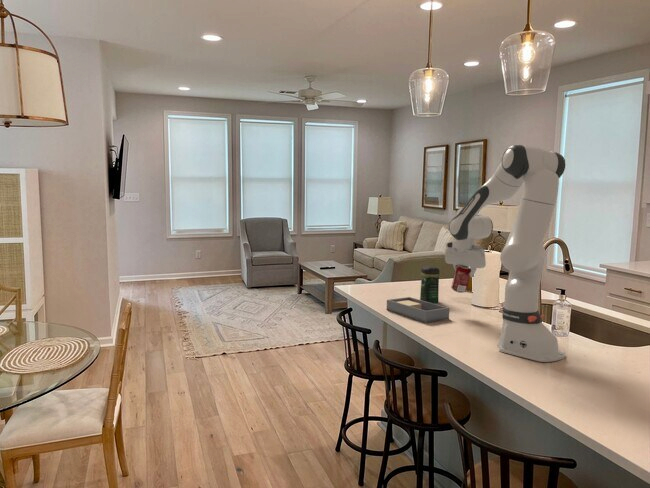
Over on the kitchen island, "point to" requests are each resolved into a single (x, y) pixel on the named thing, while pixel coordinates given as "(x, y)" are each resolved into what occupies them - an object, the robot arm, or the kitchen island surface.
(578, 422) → the kitchen island surface
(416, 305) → the tan square block
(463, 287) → the soda can
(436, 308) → the tray
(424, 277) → the coffee jar
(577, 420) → the kitchen island surface
